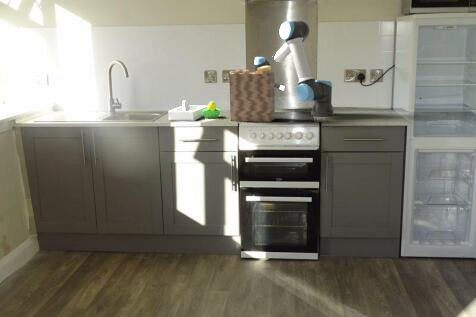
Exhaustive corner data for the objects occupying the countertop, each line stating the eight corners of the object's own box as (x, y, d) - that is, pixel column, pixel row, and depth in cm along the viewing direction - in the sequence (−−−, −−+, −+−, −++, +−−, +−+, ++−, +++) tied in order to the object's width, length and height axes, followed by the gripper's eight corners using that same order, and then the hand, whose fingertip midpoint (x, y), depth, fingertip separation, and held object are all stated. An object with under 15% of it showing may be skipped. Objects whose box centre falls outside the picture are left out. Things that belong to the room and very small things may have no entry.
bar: (270, 71, 336) (270, 65, 336) (262, 73, 314) (262, 68, 313) (265, 71, 337) (265, 65, 337) (257, 73, 315) (257, 68, 314)
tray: (207, 114, 358) (207, 105, 357) (193, 120, 331) (193, 111, 330) (184, 113, 363) (184, 105, 361) (168, 120, 336) (168, 111, 335)
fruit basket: (218, 116, 349) (217, 99, 347) (221, 117, 341) (220, 101, 338) (201, 117, 346) (201, 100, 344) (204, 119, 338) (204, 102, 335)
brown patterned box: (274, 118, 334) (274, 69, 327) (270, 121, 321) (269, 71, 313) (236, 117, 341) (235, 69, 334) (230, 120, 328) (229, 71, 320)
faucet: (191, 114, 335) (189, 93, 348) (176, 119, 337) (175, 98, 350) (199, 127, 346) (197, 107, 359) (184, 132, 348) (183, 111, 361)
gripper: (277, 90, 362) (290, 96, 343) (246, 82, 353) (257, 87, 333) (280, 80, 361) (293, 85, 341) (249, 71, 351) (260, 76, 332)
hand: (275, 86), depth 337 cm, fingers open, 13 cm apart
